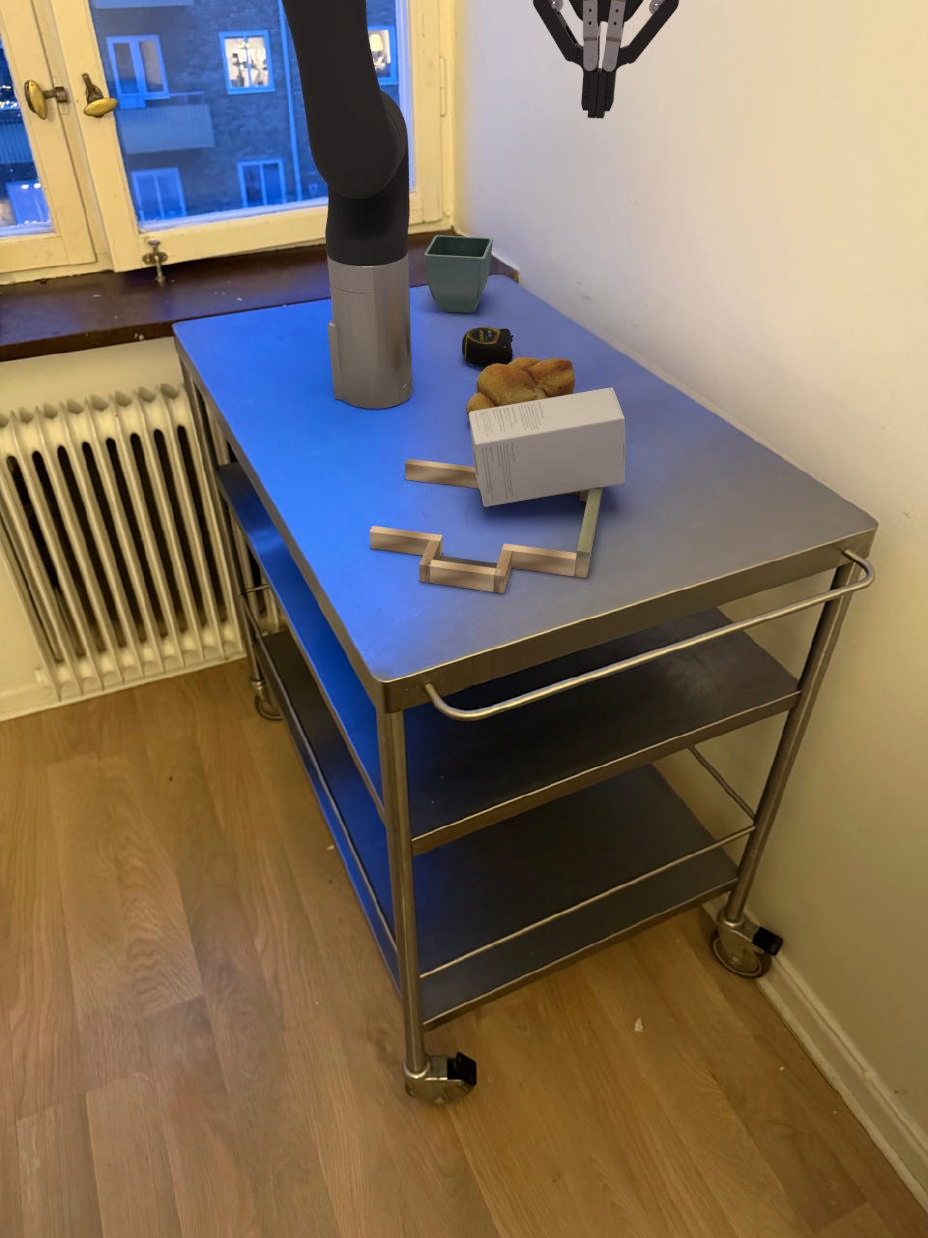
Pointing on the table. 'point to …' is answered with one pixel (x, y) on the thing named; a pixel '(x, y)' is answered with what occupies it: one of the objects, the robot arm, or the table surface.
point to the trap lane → (511, 556)
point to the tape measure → (487, 346)
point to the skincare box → (548, 446)
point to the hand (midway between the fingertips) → (596, 116)
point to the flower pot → (458, 271)
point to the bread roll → (522, 382)
